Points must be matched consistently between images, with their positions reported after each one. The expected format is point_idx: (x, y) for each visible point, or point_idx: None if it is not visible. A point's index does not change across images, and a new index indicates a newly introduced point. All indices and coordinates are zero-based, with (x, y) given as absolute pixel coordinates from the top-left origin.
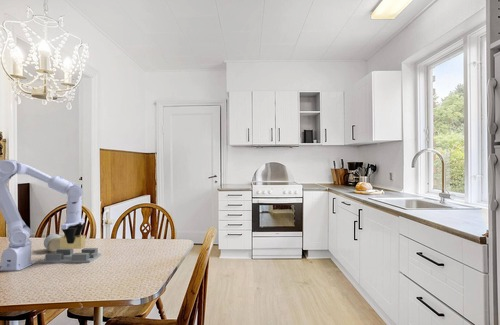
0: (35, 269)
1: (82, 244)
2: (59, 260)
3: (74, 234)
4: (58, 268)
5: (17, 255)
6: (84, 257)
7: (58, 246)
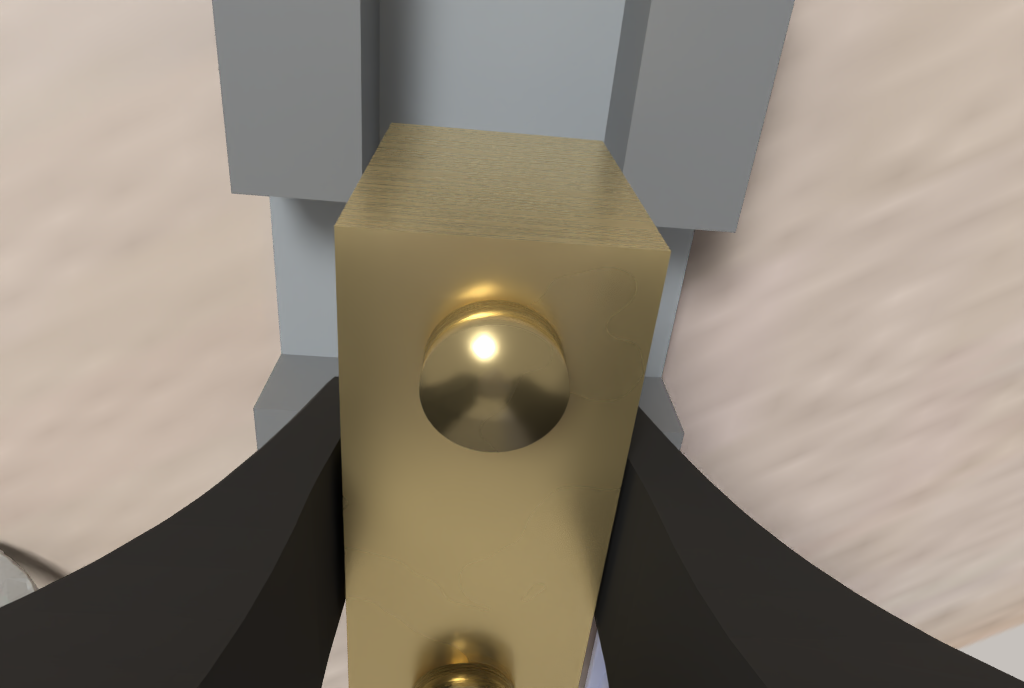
0: (862, 497)
1: (536, 158)
2: (659, 380)
3: (693, 535)
4: (928, 254)
5: None
6: None
7: None
